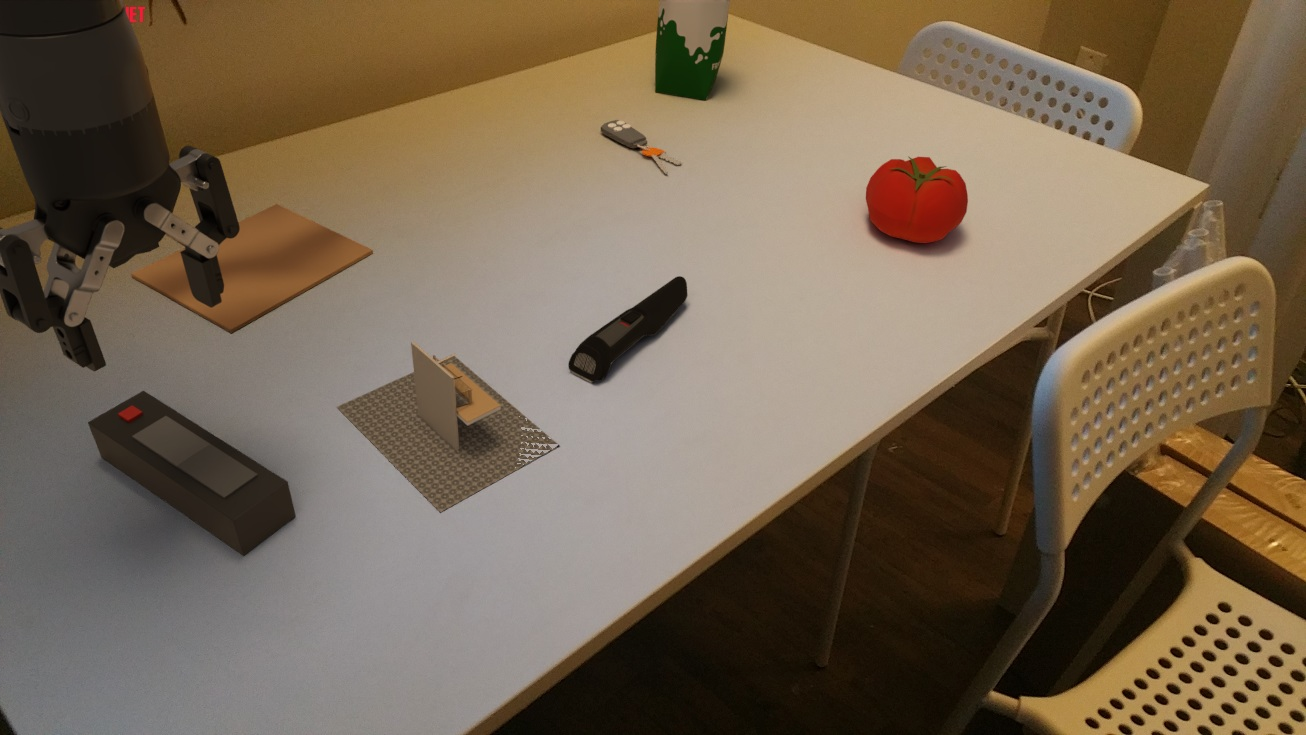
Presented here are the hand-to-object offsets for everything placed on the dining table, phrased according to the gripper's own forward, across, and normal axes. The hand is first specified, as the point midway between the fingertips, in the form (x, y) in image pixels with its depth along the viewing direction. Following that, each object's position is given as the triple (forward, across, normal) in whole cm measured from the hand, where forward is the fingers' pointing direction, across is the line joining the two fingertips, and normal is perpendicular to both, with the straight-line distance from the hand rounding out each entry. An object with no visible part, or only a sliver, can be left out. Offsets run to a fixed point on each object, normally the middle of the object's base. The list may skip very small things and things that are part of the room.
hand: (152, 331), depth 64 cm
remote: (+14, 0, 0) cm, 14 cm away
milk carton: (+14, -87, -11) cm, 89 cm away
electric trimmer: (+15, -35, +15) cm, 41 cm away
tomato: (+15, -71, +28) cm, 77 cm away
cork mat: (+14, -22, -20) cm, 33 cm away
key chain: (+14, -67, -5) cm, 68 cm away
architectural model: (+14, -16, +10) cm, 24 cm away
